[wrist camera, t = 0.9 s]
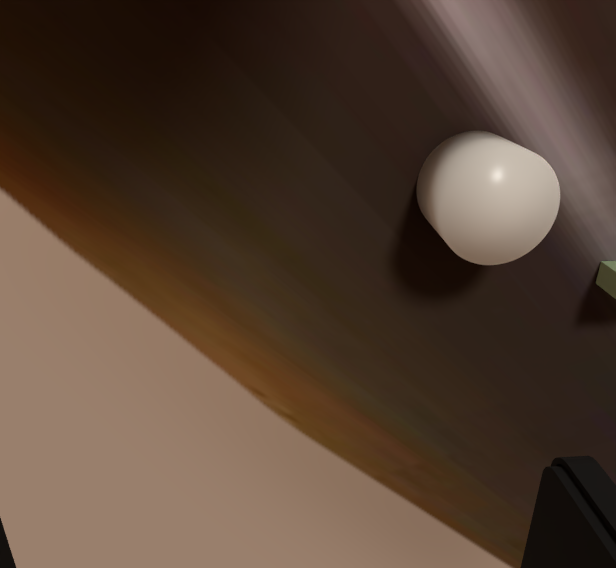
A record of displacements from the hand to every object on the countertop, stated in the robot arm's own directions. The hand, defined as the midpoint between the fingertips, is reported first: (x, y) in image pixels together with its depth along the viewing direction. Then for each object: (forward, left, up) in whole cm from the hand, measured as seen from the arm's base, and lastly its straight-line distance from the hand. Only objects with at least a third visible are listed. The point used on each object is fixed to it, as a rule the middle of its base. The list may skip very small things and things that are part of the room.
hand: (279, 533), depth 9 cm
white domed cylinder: (0, +11, -23) cm, 25 cm away
